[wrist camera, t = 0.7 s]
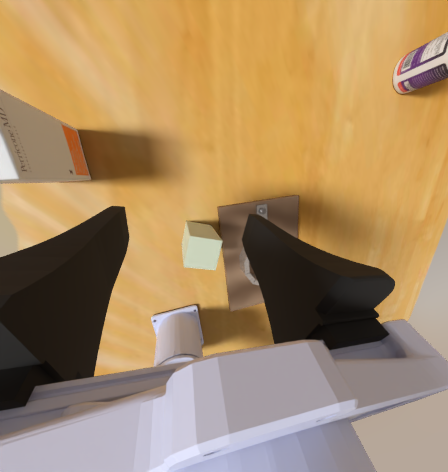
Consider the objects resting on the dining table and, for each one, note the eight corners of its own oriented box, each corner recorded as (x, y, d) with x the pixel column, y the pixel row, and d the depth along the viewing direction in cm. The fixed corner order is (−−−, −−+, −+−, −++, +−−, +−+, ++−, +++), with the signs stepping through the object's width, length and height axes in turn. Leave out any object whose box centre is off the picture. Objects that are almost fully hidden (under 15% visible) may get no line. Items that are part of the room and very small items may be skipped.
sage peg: (210, 225, 30) (222, 240, 22) (205, 247, 30) (215, 270, 23) (186, 220, 28) (190, 235, 21) (181, 244, 29) (183, 267, 22)
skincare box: (93, 180, 24) (21, 182, 13) (55, 182, 23) (-58, 187, 12) (78, 127, 22) (-22, 75, 11) (36, 127, 21) (-121, 71, 10)
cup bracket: (292, 290, 38) (303, 301, 35) (229, 308, 35) (234, 321, 32) (295, 195, 32) (308, 197, 28) (217, 206, 29) (222, 210, 26)
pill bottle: (418, 85, 31) (515, 48, 22) (393, 100, 31) (482, 69, 22) (415, 48, 29) (522, -10, 20) (389, 64, 29) (485, 13, 20)
